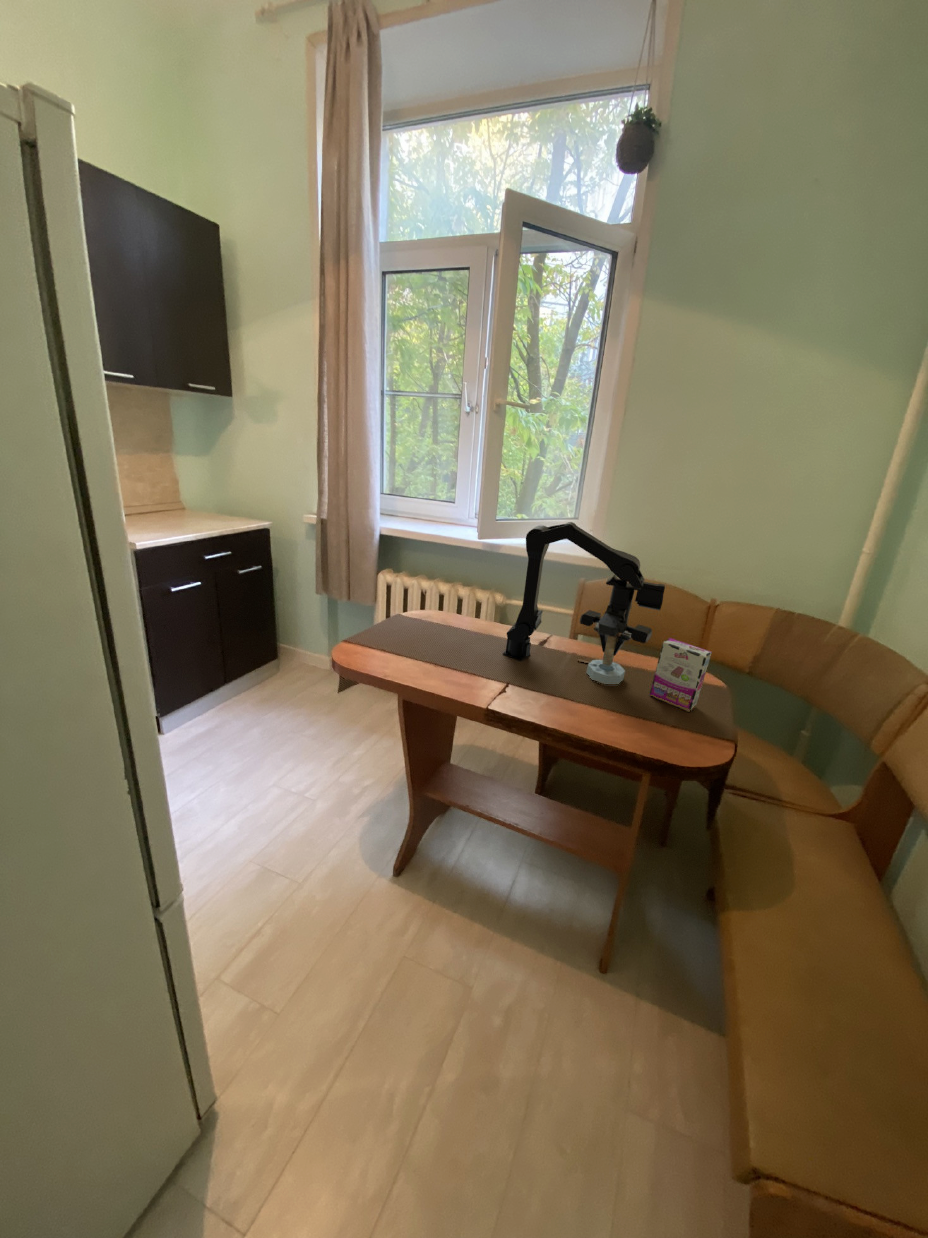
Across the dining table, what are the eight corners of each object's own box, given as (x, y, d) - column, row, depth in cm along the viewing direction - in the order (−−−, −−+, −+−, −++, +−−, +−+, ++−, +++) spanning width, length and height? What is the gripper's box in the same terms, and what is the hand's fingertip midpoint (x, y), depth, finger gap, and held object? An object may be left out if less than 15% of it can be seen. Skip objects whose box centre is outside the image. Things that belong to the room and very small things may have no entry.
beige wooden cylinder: (600, 662, 138) (607, 631, 134) (604, 659, 140) (610, 628, 136) (610, 666, 136) (617, 634, 132) (613, 662, 139) (620, 631, 135)
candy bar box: (696, 706, 129) (713, 651, 122) (689, 713, 125) (706, 657, 119) (655, 689, 135) (669, 636, 129) (648, 695, 132) (662, 641, 126)
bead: (582, 676, 139) (584, 667, 138) (594, 665, 146) (596, 656, 145) (614, 688, 134) (617, 679, 133) (626, 676, 141) (628, 667, 140)
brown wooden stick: (577, 661, 148) (578, 660, 147) (578, 660, 148) (578, 659, 148) (617, 671, 143) (618, 670, 143) (618, 670, 144) (618, 669, 144)
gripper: (576, 600, 130) (567, 652, 136) (646, 620, 120) (632, 675, 126) (592, 590, 138) (582, 640, 144) (658, 608, 129) (645, 660, 135)
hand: (609, 653), depth 137 cm, fingers closed on beige wooden cylinder, 3 cm apart
